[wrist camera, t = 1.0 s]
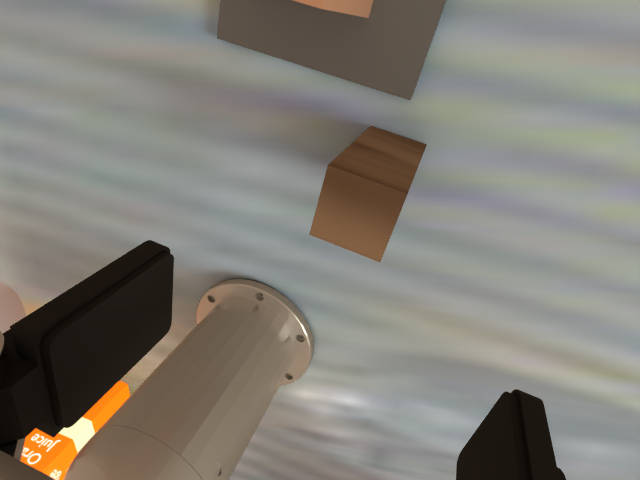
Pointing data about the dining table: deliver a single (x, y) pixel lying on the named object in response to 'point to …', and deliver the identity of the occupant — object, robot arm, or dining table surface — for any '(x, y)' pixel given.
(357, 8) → the tile
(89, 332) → the robot arm
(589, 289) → the dining table surface
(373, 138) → the block
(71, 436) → the orange juice
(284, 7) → the mat
